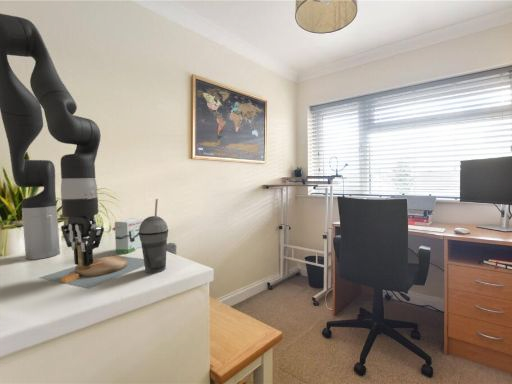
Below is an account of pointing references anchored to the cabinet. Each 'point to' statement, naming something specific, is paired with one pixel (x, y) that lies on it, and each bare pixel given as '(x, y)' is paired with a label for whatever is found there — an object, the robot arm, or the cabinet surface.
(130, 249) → the ink box
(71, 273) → the board
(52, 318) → the cabinet surface
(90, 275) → the dial
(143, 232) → the beverage cup
